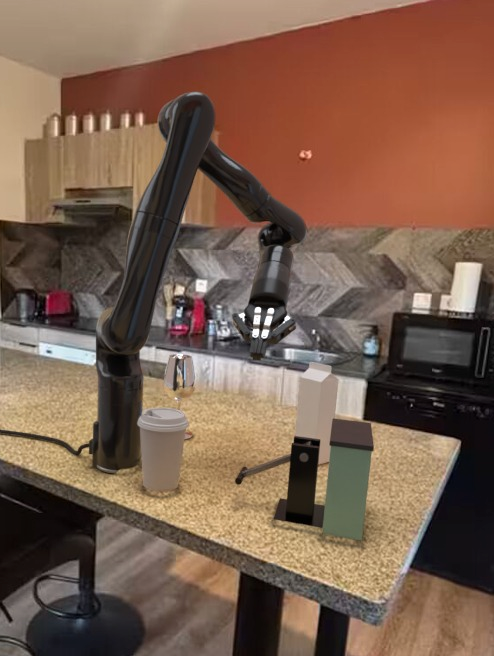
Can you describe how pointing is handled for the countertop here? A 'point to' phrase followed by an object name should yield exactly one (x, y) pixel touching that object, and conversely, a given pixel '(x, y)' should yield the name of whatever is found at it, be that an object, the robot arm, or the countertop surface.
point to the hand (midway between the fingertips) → (256, 357)
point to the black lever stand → (302, 486)
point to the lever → (263, 467)
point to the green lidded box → (347, 478)
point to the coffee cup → (162, 447)
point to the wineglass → (179, 380)
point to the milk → (317, 406)
